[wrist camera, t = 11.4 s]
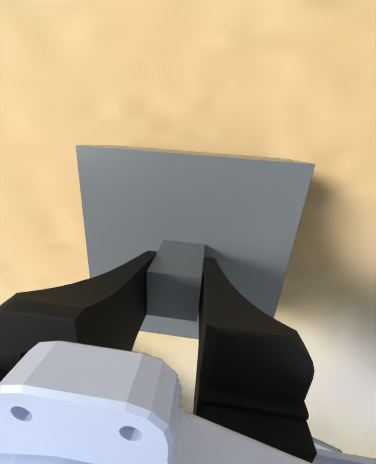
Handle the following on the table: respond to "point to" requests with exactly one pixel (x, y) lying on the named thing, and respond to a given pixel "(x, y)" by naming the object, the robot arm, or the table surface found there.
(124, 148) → the gray square knob slab
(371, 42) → the table surface
